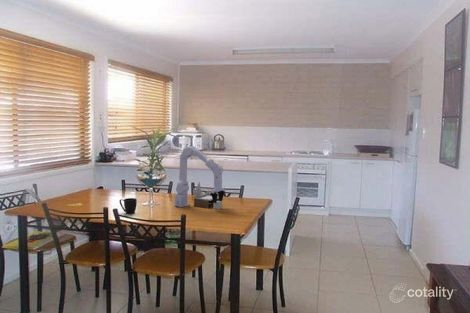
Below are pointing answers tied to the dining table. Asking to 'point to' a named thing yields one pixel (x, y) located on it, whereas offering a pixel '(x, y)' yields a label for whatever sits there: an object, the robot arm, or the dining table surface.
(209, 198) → the trapdoor
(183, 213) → the dining table surface
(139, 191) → the dining table surface
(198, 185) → the crystal
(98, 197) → the dining table surface
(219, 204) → the white block
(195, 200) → the frame
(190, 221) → the dining table surface
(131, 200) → the mug
